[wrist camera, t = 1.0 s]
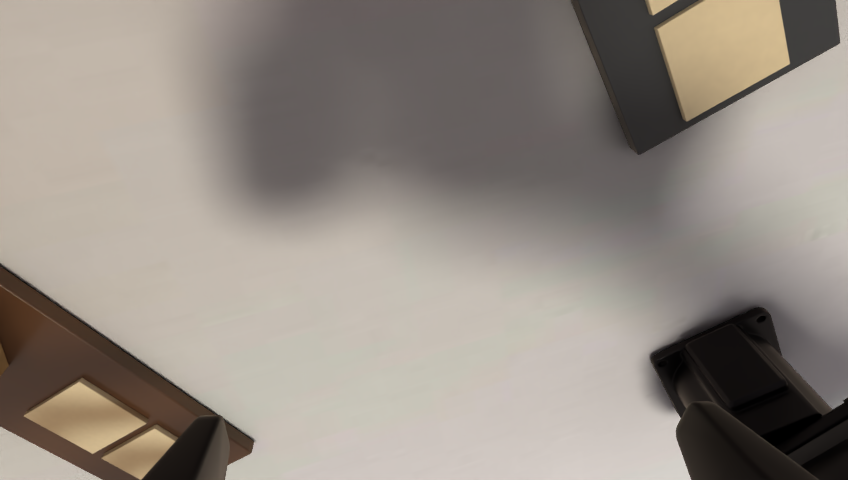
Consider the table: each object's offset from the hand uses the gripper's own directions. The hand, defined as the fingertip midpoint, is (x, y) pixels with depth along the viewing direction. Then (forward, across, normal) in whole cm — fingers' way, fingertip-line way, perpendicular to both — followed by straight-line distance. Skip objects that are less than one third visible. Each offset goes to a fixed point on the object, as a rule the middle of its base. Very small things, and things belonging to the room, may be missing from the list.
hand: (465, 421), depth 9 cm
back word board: (+13, +18, +12) cm, 25 cm away
